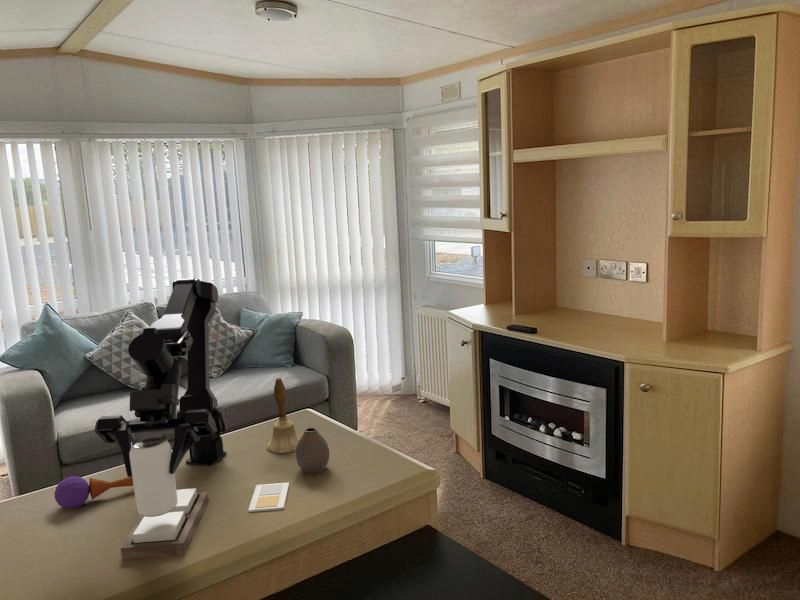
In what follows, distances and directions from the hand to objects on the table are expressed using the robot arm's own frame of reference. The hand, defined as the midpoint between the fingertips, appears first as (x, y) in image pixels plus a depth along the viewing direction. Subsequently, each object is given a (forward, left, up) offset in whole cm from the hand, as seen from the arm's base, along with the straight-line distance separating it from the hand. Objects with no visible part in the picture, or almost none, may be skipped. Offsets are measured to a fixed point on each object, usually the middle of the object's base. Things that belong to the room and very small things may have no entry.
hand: (150, 475), depth 107 cm
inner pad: (-4, +9, -11) cm, 15 cm away
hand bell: (+1, +42, -13) cm, 44 cm away
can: (-1, +1, -7) cm, 7 cm away
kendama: (-22, +13, -13) cm, 29 cm away
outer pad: (0, +1, -11) cm, 11 cm away
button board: (-2, +5, -13) cm, 14 cm away
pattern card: (+10, +19, -13) cm, 25 cm away
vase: (+13, +32, -13) cm, 37 cm away
